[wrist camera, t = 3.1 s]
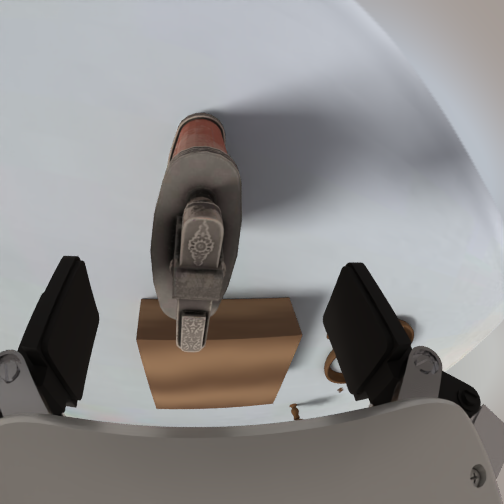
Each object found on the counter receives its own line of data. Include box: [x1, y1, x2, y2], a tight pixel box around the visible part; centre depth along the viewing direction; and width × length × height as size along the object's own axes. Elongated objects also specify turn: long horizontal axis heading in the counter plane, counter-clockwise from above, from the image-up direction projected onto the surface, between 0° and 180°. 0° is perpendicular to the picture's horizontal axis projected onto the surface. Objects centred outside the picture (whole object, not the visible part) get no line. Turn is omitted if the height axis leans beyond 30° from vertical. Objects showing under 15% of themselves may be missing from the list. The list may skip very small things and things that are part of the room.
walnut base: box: [136, 298, 302, 409], centre depth 25 cm, size 12×12×4 cm
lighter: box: [150, 113, 242, 352], centre depth 13 cm, size 8×3×10 cm, turn 168°
